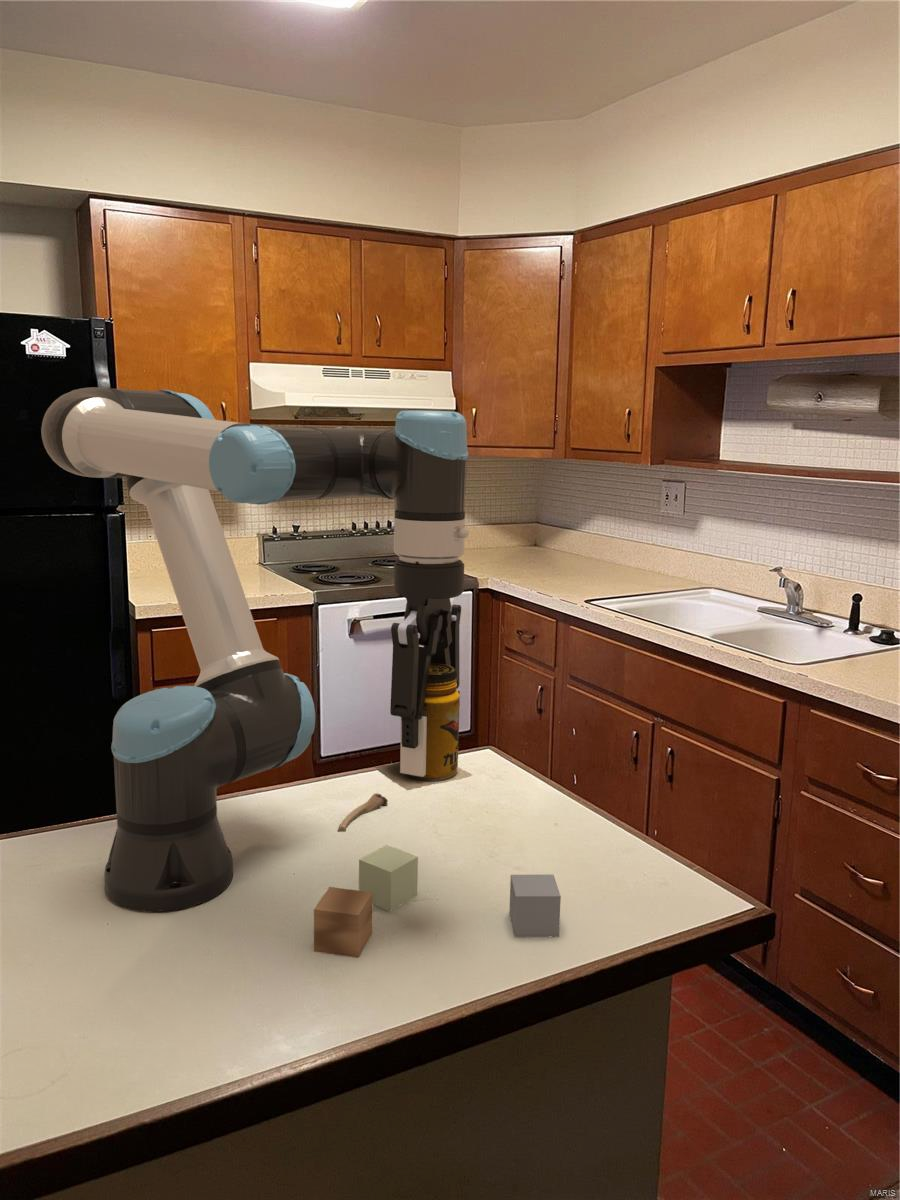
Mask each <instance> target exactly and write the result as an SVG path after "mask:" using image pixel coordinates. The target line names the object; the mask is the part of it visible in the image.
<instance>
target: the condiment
mask: <svg viewBox="0 0 900 1200" xmlns="http://www.w3.org/2000/svg"><path fill="white" fill-rule="evenodd" d="M456 678H457V671H456V669H455V668H454V667H452V666H449V665H445V664H439V663H438V664H436V663H430V667H429V674H428V681H427V688H426V695H425V702H424V709H423V716H425V717H427V735H426V775H425V776H423V777H421V776H415V775H410V774H404V773H400V761H399V762H395V763H390V764H381V765H378V766H374V768H375V769H376V770H377V771H378V772H379V773H380V774H382V775H384V777H386V778H387V779H389V780H391V782H392V783H394V784H396V785H398V786H399V787H401V788H403V789H404V790H406V791H410V790H414V789H420V788H423V787H428V786H432V785H436V784H437V785H439V784H444V783H449V782H454V781H458V780H462V779H466V778H471V777H473V774H472V773H470V772H469V771H466V770H464V769H462V768H460V767H458V765H459V764H458V763H459V742H460V740H459V739H460V737H459V735H460V734H459V730H460V706H461V705H460V703H461V700H460V697H461V695H459V693H458V691H459V690H458V689H456V687H457V683H456Z"/></svg>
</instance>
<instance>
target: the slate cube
mask: <svg viewBox="0 0 900 1200" xmlns="http://www.w3.org/2000/svg"><path fill="white" fill-rule="evenodd" d="M554 875H555V874H510V885H509V886H510V887H509V888H510V889H509V912H508V913H510V914H509V918H511V919H510V922H511V923H512V924H511V923H510V924H511V928H512V933H513V937H514V938H550V937H549V936H552V937H551V938H559V937H560V921H561V917H560V916H561V900H562V899H561V898H562V897H561V896H562V895H561V893H560V889H559V886H558V884H557V880H556V878H555V876H554Z"/></svg>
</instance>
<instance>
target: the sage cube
mask: <svg viewBox="0 0 900 1200" xmlns="http://www.w3.org/2000/svg"><path fill="white" fill-rule="evenodd" d="M418 868H419V856H417V855H415V854H412V853H409V852H406V851H403V850H402V849H399V848H396V847H393V846H391V845H389V844H385V845H383V846H382V847H379V848H378V849H377V850H374V851H372V852H370V853H369V854H367V855H365V856H363V857H360V858H359V860H358V890H359V891H366V892H373V893H372V905H375V906H378V907H379V908H382V909H385V910H387V911H389V912H393V910H394V909H396V908H398V907H399V906H401V905H403V904H405V903H407V901H409V900H411V899H412V898H415V897H416V896H417V895H418V880H419V874H418V873H419V869H418Z"/></svg>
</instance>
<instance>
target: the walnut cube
mask: <svg viewBox="0 0 900 1200" xmlns="http://www.w3.org/2000/svg"><path fill="white" fill-rule="evenodd" d="M372 893H373V892H366V891H359V889H356V890H355V889H351V888H350V889H348V888H343V887H342V888H341V887H335V886H329V887H328V889H327V890H326V891H325V892H324V894H323V895H322V896H321V898H320V900H319V901H318V902H317V903H316V904H315V905H316V906H315V907H314V908H313V952H316V953H324V954H330V955H331V954H332V955H335V956H336V955H337V956H343V957H351V958H357V959H358V958H360V956H361V954H362V953H363V951H364V949H365V947H366V945H367V943H368V942H369V940H370V938H371V937H372V935H373V903H372Z"/></svg>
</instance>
